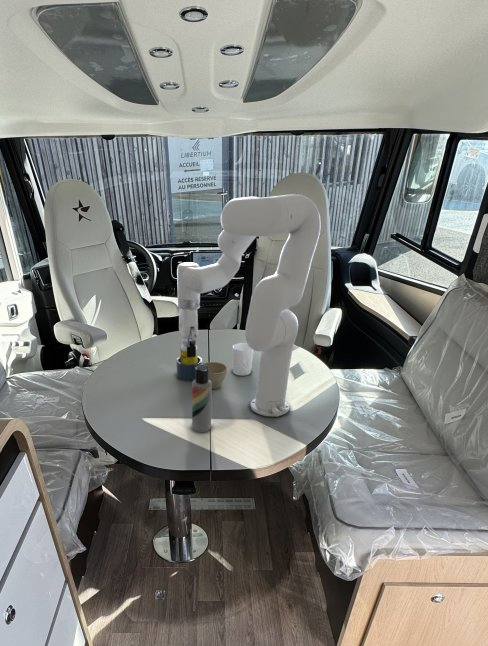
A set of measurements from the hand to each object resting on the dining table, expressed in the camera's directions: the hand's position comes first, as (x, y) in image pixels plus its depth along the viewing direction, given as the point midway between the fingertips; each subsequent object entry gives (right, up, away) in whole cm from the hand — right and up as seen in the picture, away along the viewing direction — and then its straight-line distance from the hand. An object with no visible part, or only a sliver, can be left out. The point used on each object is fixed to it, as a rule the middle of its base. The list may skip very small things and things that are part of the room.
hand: (189, 352), depth 161 cm
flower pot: (+8, -13, -2) cm, 15 cm away
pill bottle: (0, -5, +4) cm, 6 cm away
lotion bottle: (+4, -30, -25) cm, 39 cm away
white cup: (+20, -6, +8) cm, 22 cm away
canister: (0, -7, +5) cm, 9 cm away
